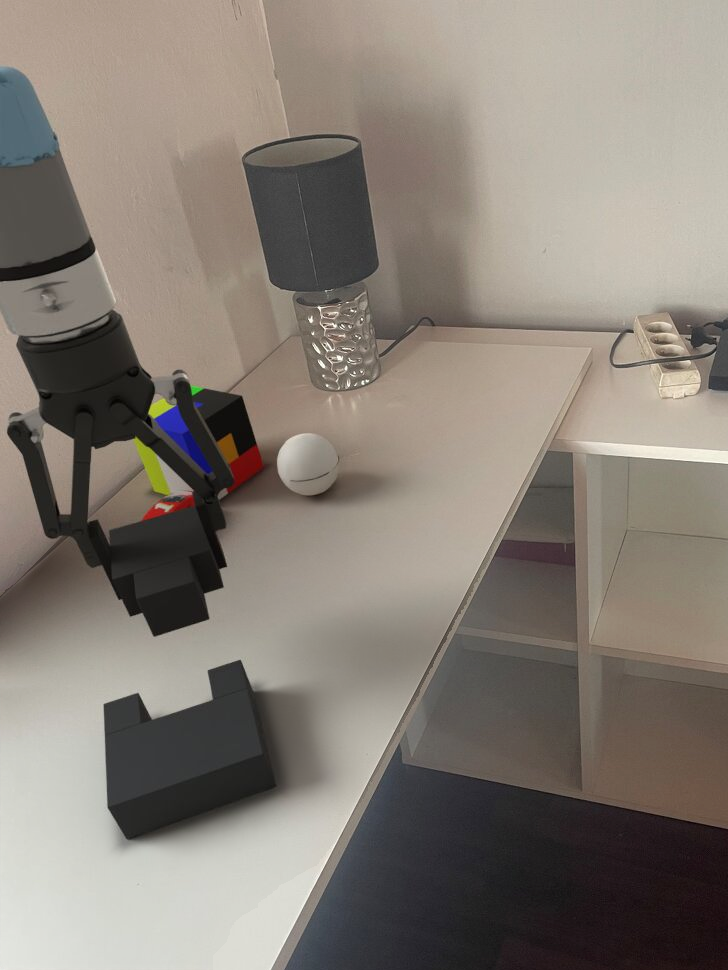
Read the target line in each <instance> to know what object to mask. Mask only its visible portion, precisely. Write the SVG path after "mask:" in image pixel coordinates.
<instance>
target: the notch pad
mask: <svg viewBox="0 0 728 970" xmlns="http://www.w3.org/2000/svg"><path fill="white" fill-rule="evenodd" d="M207 675H208V681H209V686H210V687H209V688H210V693H211V696H212V699H211V700H208V701H205V702H202V703H199V704H195V705H192V706H189V707H186V708H184V709H181V710H178V711H175V712H172V713H168V714H165V715H163V716H160V717H157V718H154V719H153V718H152V717H151V715H150V712H149V711H148V709H147V707H146V705H145V703H144V700H143V699H142V697H141V695H140V693H139V692H136V693H133V694H130V695H126V696H124V697H120V698H118V699H114V700H111V701H109V702H105V703H103V726H104V727H103V728H104V729H103V730H104V754H105V756H104V757H105V779H106V780H105V781H106V782H105V783H106V805H107V810H108V811H109V813H110V815H111V816H112V817H113V819H114V821H115V823H116V824H117V827H118V828H119V829H120V831H121V833H122V834H123V836H124V838H125V839H126V840H129V839H133V838H134V837H135V838H136V837H137V836H141V835H143V834H146V833H149V832H151V831H155V830H157V829H160V828H163V827H166V826H168V825H171V824H174V823H177V822H181V821H183V820H185V819H189V818H191V817H194V816H197V815H199V814H203V813H205V812H208V811H211V810H213V809H216V808H219V807H222V806H225V805H227V804H230V803H233V802H236V801H239V800H241V799H244V798H248V797H250V796H252V795H255V794H258V793H262V792H264V791H267V790H270V789H273V788H275V787H277V783H276V782H277V781H276V777H275V773H274V770H273V766H272V762H271V758H270V754H269V750H268V746H267V741H266V737H265V734H264V730H263V726H262V721H261V717H260V713H259V709H258V704H257V701H256V697H255V693H254V689H253V687H252V684H251V681H250V679H249V677H248V674H247V671H246V669H245V666H244V663H243V662H242V659H237V660H234V661H232V662H229V663H225V664H222V665H219V666H216V667H213V668H210V669H207Z"/></svg>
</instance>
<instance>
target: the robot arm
mask: <svg viewBox="0 0 728 970" xmlns="http://www.w3.org/2000/svg"><path fill="white" fill-rule="evenodd" d="M91 235H92V234H91V232H90V229H89V227H88V224H87V221H86V218H85V215H84V213H83V210H82V208H81V204H80V202H79V200H78V197H77V194H76V191H75V187H74V186H73V182H72V181H71V177H70V175H69V171H68V169H67V166H66V164H65V161H64V158H63V156H62V152H61V149H60V142H59V138H58V135H57V134H56V132H55V131H53V128H52V125H51V124H50V121H49V119H48V117H47V115H46V113H45V110H44V108H43V106H42V103H41V101H40V99H39V97H38V94H37V92H36V89H35V88H34V85H33V83H32V82H31V81H30V79H29V78H28V76H27V75H26V74H25V73H24V72H22V71H21V70H19V69H17V68H14V67H12V66H7V65H6V66H4V65H3V66H2V65H1V66H0V314H1V316H2V318H3V321H4V323H5V325H6V328H7V329H8V331H9V332H10V333H12V334H13V335H15V336H18V337H17V341H16V344H15V347H16V349H17V351H18V353H19V356H20V357H21V359H22V362H23V364H24V366H25V368H26V370H27V372H28V374H29V377H30V379H31V381H32V383H33V385H34V388H35V390H36V392H37V395H38V398H39V402H38V407H36V408H34V409H32V410H29V411H27V412H25V413H21V412H17V411H15V412H12V413H10V414H9V416H8V421H7V427H6V434H7V436H8V438H9V439H10V440H11V442H12V444H13V445H14V446H15V447H16V449H17V450H18V451H19V452H20V454H21V455H22V459H23V462H24V466H25V470H26V473H27V476H28V479H29V483H30V487H31V490H32V495H33V499H34V500H35V505H36V508H37V512H38V515H39V519H40V523H41V526H42V530H43V533H44V536H45V537H46V538H48V539H50V540H55V539H58V538H59V537H69V538H72V539H73V540H74V541H75V542H76V545H77V546H78V549H79V551H80V553H81V554H82V557H83V559H84V561H85V563H86V565H87V566H89V567H90V568H91V569H94V568H98V567H101V566H102V569H103V570H104V572H105V575H106V577H107V579H108V581H109V583H110V585H111V587H112V590H113V591H114V594H115V595H116V598H117V600H118V601H122V599H121V597H120V595H119V593H118V591H117V589H116V586H115V584H114V582H113V580H112V569H111V553H110V542H109V540H108V539H107V537H106V534H105V532H104V530H103V528H102V526H101V523H100V521H99V519H97V518H96V519H93V520H89V521H88V519H89V517H88V516H89V501H90V500H89V499H90V479H91V465H92V464H91V463H92V451H93V450H92V449H93V448H94V450H98V449H102V448H105V447H107V446H109V445H111V444H113V443H115V442H128V441H131V440H133V439H135V436H136V437H137V438H138V439H139V440H140V441H141V442H142V443H143V444H144V445H145V446H146V447H149V448H150V449H151V450H152V451H153V452H154V453H155V454H157V455H158V456H159V457H160V458H161V459H162V460H163V461H164V462H165V463H166V464H167V465H168V466H169V467H170V468H171V469H172V470H173V471H174V472H175V473H176V474H177V475H178V476H179V477H180V478H181V479H182V480H183V481H184V482H185V483H186V484H187V485H188V486H189V487H190V488H192V489H193V490H194V492H192V495H193V499H194V503H195V507H196V510H197V513H198V515H199V518H200V521H201V523H202V526H203V529H204V531H205V534H206V536H207V538H208V541H209V543H210V546H211V549H212V551H213V554H214V557H215V559H216V562H217V565H218V567H219V570H222V569H226V568H228V563H227V561H226V557H225V554H224V549H223V547H222V544H221V541H220V539H219V536H218V534H217V532H218V531H221V530H224V529H226V528H227V520H226V517H225V514H224V511H223V508H222V504H221V502H220V500H219V499H218V494H219V493H220V491H222V490H223V489H224V488H231V487H232V486H233V485H234V482H235V481H234V477H233V474H232V471H231V468H230V465H229V464H228V462H227V460H226V458H225V457H224V455H223V453H222V451H221V449H220V448H219V446H218V444H217V442H216V441H215V439H214V437H213V435H212V433H211V432H210V430H209V428H208V426H207V425H206V423H205V421H204V419H203V417H202V416H201V414H200V412H199V410H198V409H197V407H196V405H195V403H194V401H193V398H192V391H191V386H192V385H191V383H190V379H189V376H188V374H187V373H188V372H186V371H185V370H183V369H176V370H174V371H173V372H172V373H171V375H162V376H161V375H160V376H152V375H151V374H150V373H149V372H148V371H146V370H145V368H144V367H143V366H142V365H141V363H140V361H139V358H138V355H137V353H136V349H135V347H134V344H133V342H132V340H131V337H130V334H129V332H128V329H127V326H126V323H125V320H124V319H123V316H122V315H121V313H119V312H117V311H116V310H114V308H115V307H116V304H117V299H116V296H115V294H114V292H113V291H114V290H113V288H112V286H111V283H110V280H109V277H108V275H107V273H106V269H105V267H104V264H103V261H102V258H101V257H100V254H99V251H98V248H97V247H96V244H95V243H94V239H93V237H92V236H91ZM155 395H160V396H162V397H163V398H165V400H166V402H167V403H168V404H169V405H177V406H178V410H179V413H180V415H181V417H182V419H183V421H184V423H185V425H186V426H187V428H188V430H189V431H190V433H191V435H192V437H193V438H194V440H195V442H196V444H197V445H198V447H199V449H200V450H201V452H202V454H203V456H204V457H205V459H206V461H207V462H208V464H209V466H210V468H211V469H212V472H211V473H209V474H208V475H207V474H206V473H205V472H204V471H203V470H202V469H201V468H200V467H199V466H198V465H197V464H196V463H195V462H194V461H193V460H192V459H191V458H190V457H189V456H188V455H187V454H186V453H185V452H184V451H183V450H182V449H181V448H180V447H179V446H178V445H177V444H176V442H175V441H174V440H173V439H172V438H171V437H170V436H169V435H168V434H167V433H166V432H165V431H164V430H163V429H162V428H161V427H160V426H159V425H158V424H157V422H156V421H155V420H154V418H153V417H152V416H151V415H150V414H149V413H148V412H149V410H150V407H151V405H153V404H152V403H153V401H154V397H155ZM45 424H48V425H49V426H51V427H53V428H54V429H56V430H58V431H59V432H61V433H63V434H64V435H66V436H68V437H69V438H71V439H72V440H73V446H72V448H73V450H72V471H71V472H72V473H71V474H72V475H71V493H70V494H71V496H70V497H71V498H70V499H71V500H70V514H69V513H68V514H67V513H65V514H64V513H61V512H60V511H61V510H60V507H59V504H58V500H57V496H56V493H55V489H54V486H53V481H52V477H51V474H50V470H49V466H48V462H47V458H46V455H45V451H44V447H43V443H42V441H43V439H44V434H45V433H44V432H45V430H44V427H43V426H44V425H45Z"/></svg>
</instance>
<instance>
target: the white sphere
mask: <svg viewBox="0 0 728 970" xmlns="http://www.w3.org/2000/svg"><path fill="white" fill-rule="evenodd" d="M361 454H362V453H361V452H359V453H356V454H351V455H348V456H345V457H341V458H340V457H339V455H338V452H337V450H336V448H335V446H333V444H332V443H330V441H328V440H327V438H325V437H323V436H321V435H319V434H317V433H313V432H312V433H311V432H305V433H299V434H296V435H293V436H292V437H290V438H288V439H287V440H286V441H285V442H284V444H283V445H282V446H281V448H280V449H279V451H278V455H277V458H276V467H277V473H278V475H279V477H280V479H281V481H282V482H283V483H282V484H284V485H285V487H287V488H288V489H289V490H290V491H292V492H294V493H296V494H298V495H302V496H315V495H320V494H322V493H325V491H327V490H329V488H331V487H332V485H333V484H334V483H335V482H336V480H337V477H338V475H339V471H340V460H343V459H347V458H350V457H353V456H358V455H361Z"/></svg>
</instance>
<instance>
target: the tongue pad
mask: <svg viewBox="0 0 728 970" xmlns="http://www.w3.org/2000/svg"><path fill="white" fill-rule="evenodd" d="M108 539H109V540H108V541H109V545H110V553H111V569H112V580H113V582H114V584H115V586H116V589H117V591H118V593H119V595H120V597H121V602H122V603H123V605H124V607H125V610H126V611H127V614H128V616H129V617H136V616H138V615H141V614H142V615H143V617H144V619H145V622H146V624H147V626H148V628H149V630H150V632H151V634H152V636H153V637H154V638H155V637H158V636H162V635H164V634H169V633H171V632H174V631H178V630H180V629H183V628H187V627H191V626H193V625H196V624H199V623H203V622H206V621H209V620H210V614H209V608H208V605H207V599H206V595H205V594H209V593H212V592H214V591H217V590H221V589H224V588H225V586H224V582H223V578H222V574H221V569H219V567H218V565H217V562H216V559H215V557H214V554H213V551H212V549H211V546H210V543H209V541H208V538H207V536H206V534H205V531H204V529H203V526H202V523H201V521H200V518H199V515H198V513H197V510H196V507H195V505H194V506H191V507H187V508H184V509H181V510H177V511H174V512H170V513H167V514H164V515H160V516H157V517H153V518H150V519H146V520H143V521H141V520H139V521H137V522H133V523H129V524H126V525H123V526H119V527H116V528H113V529H109V530H108Z"/></svg>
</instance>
